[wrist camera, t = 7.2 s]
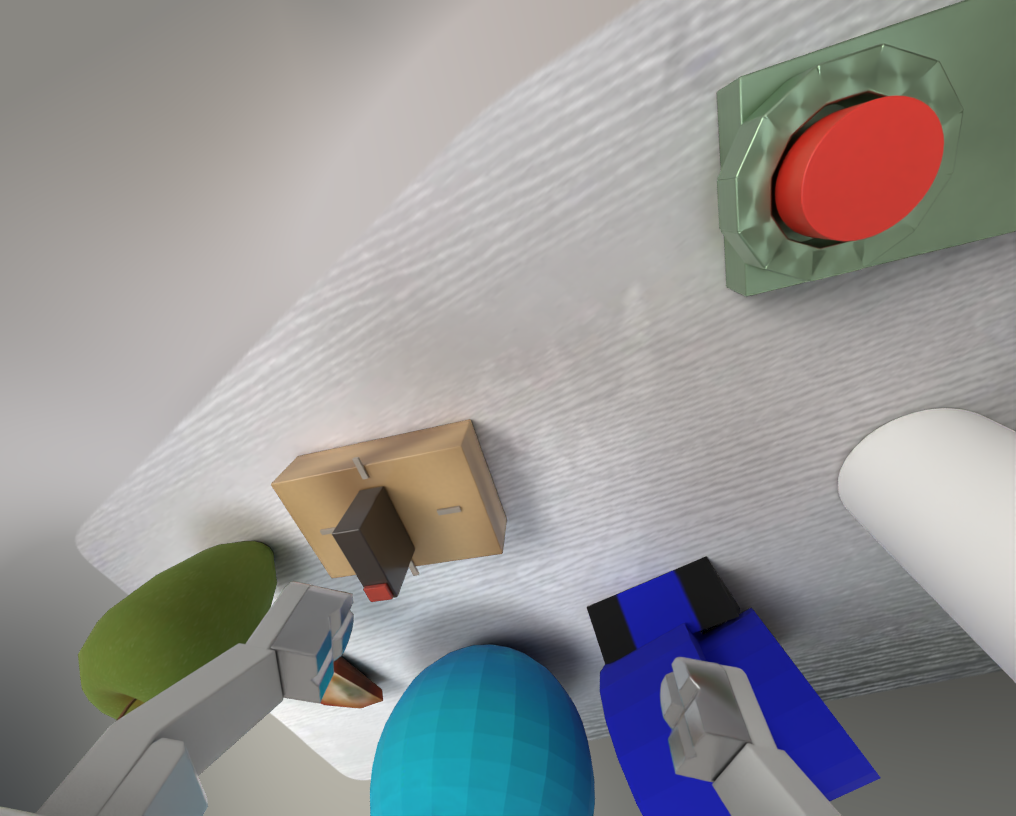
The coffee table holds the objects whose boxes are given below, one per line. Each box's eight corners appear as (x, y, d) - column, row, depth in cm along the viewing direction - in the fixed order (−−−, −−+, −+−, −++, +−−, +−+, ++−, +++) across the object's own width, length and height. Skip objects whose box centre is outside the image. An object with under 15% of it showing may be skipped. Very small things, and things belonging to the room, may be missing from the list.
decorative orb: (604, 701, 36) (638, 993, 23) (450, 717, 39) (402, 982, 26) (554, 586, 30) (561, 892, 17) (378, 617, 33) (267, 893, 20)
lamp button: (908, 88, 13) (956, 73, 12) (893, 219, 15) (933, 221, 13) (773, 130, 14) (803, 121, 12) (774, 250, 16) (799, 255, 14)
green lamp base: (1046, -20, 14) (1212, -94, 11) (995, 220, 18) (1109, 225, 14) (691, 100, 17) (731, 72, 13) (705, 292, 20) (739, 312, 16)
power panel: (467, 410, 24) (457, 437, 21) (509, 526, 28) (505, 563, 25) (292, 448, 26) (262, 477, 24) (353, 551, 30) (334, 587, 27)
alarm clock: (579, 610, 31) (605, 918, 18) (736, 543, 27) (924, 881, 14) (660, 691, 35) (731, 996, 21) (808, 644, 31) (1010, 985, 17)
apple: (207, 490, 29) (18, 652, 18) (322, 537, 30) (204, 713, 20) (194, 566, 32) (31, 735, 22) (296, 605, 34) (186, 782, 23)
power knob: (358, 489, 23) (328, 537, 20) (384, 485, 23) (357, 532, 20) (392, 552, 26) (369, 605, 22) (415, 549, 25) (396, 601, 22)
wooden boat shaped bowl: (226, 638, 37) (212, 658, 35) (243, 606, 34) (229, 626, 33) (370, 700, 39) (362, 721, 38) (394, 674, 37) (387, 695, 35)
